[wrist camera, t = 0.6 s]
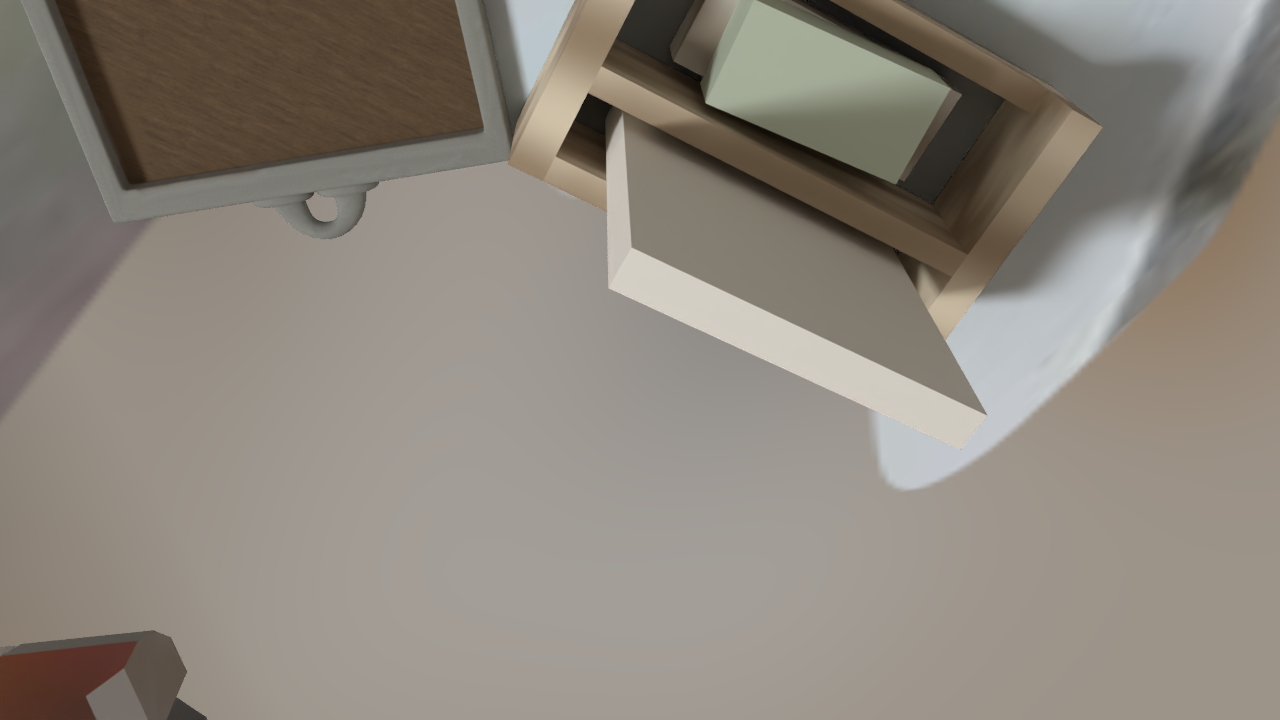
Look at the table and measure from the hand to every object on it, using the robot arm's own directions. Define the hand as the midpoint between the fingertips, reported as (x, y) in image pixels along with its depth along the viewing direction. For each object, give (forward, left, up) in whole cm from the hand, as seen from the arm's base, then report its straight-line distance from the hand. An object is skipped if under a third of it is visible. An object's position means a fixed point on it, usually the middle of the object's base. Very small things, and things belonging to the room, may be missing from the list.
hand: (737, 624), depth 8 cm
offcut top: (+3, +11, -42) cm, 43 cm away
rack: (+5, +11, -45) cm, 46 cm away
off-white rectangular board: (+8, +11, -45) cm, 47 cm away
